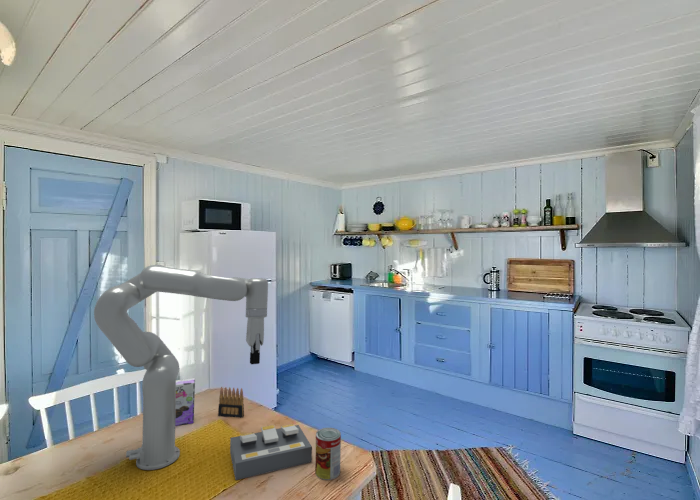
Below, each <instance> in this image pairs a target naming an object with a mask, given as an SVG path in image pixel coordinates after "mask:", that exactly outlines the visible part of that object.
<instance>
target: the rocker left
mask: <svg viewBox="0 0 700 500" xmlns="http://www.w3.org/2000/svg"><path fill="white" fill-rule="evenodd" d="M254 433H255V432H249V433H243V434H240V435H239V436H240V440H241V441H242V442H243V443H245V442H250V441H255V440H257V436H256V435H255V434H254Z"/></svg>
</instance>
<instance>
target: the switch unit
mask: <svg viewBox="0 0 700 500" xmlns="http://www.w3.org/2000/svg"><path fill="white" fill-rule="evenodd" d="M294 425H295V426H296V427H297V428H298V429H299V433H296V434H291V435H285V434H284V433H283V432H282V431H281V427H279V428H275V429H276V432H277V435H278V441H276V442H271V443H266V444H265V442H264V438H263V435H262V431H260V432H259V431H258V432H253V433H254V434H255V435H256V436H257V440H255V441H250V442H245V443H243V442H242V441H241V440H240V435H239V436H232V437H230V443H229V445H230V447H229V448H230V449H229V452H230V453H229V454H230V458H231V464H233V465H232V469H233V474H234V478H235V479H234V480H235V481H238V480H241V479H246V478H249V477H253V476H255V477H256V476H260V475H263V474H268V473H271V472H272V473H273V472H275V471H280V470H284V469H287V468H292V467H296V466H300V465H301V466H302V465H304V464H305V465H306V464H308V463H312V459H313V446H312V444H311V442H310V441H309V440H308V438H307V436H306V435H305V433H304V431H303V429H301V427H300V425H299V424H294Z"/></svg>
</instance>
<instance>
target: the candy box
mask: <svg viewBox="0 0 700 500" xmlns="http://www.w3.org/2000/svg"><path fill="white" fill-rule="evenodd" d="M195 389H196V378H194V377H193V378H187V379H178V380H177V379H176V419H175V427H176V426H185V425H189V424H194V423H195V422H194V421H195V396H196V395H195V393H196V390H195Z"/></svg>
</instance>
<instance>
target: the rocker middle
mask: <svg viewBox="0 0 700 500" xmlns="http://www.w3.org/2000/svg"><path fill="white" fill-rule="evenodd" d="M276 429H277V428H276V427H275V424H271V425H270V424H269V425H266V426H261V427H260V430H261V431H260V432H262V435H263V438H264V442H265V444H266V443H271V442H276V441H278V435H277V432H276Z"/></svg>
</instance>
